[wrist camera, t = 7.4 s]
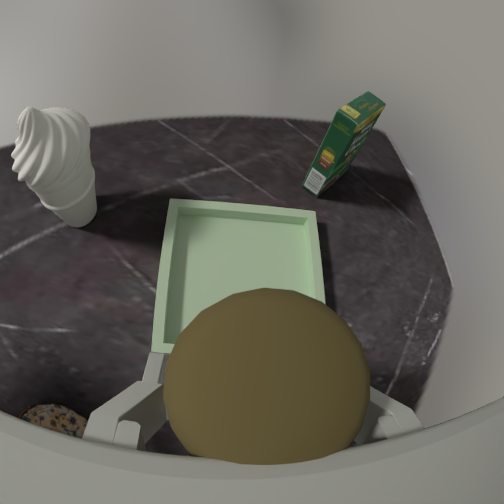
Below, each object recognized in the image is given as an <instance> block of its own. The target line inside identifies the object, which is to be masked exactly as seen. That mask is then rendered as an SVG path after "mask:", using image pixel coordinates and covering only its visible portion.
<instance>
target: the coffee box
mask: <svg viewBox="0 0 504 504" xmlns="http://www.w3.org/2000/svg"><path fill="white" fill-rule="evenodd" d="M384 107H385V103H384V102H383V101H381V100H380V99H379V98H377V97H376V96H375V95H373V94H372V93H370V92H366V93H364V94H363V95H361V96H359V97H358V98H356V99H354V100H353V101H351V102H350V103H348V104H346V105H345V106H343V107H341V108H340V109H338V110H337V112H336V114H335V116H334V119H333V120H332V123H331V125H330V127H329V129H328V131H327V133H326V135H325V137H324V139H323V142H322V144H321V146H320V148H319V150H318V152H317V154H316V156H315V158H314V160H313V162H312V164H311V166H310V169H309V171H308V173H307V175H306V177H305V179H304V182H303V184H302V187H304V188H305V189H306V190H307V191H309V192H310V193H311V194H313V195H314V196H315V197H316V198H318V197H319V196H320V195H321V194H322V193H323V192H324V191H325V190H327V189H328V188H329V187H330V186H331V185H332V184H333V183H334V182H335V181H337V180H338V179H339V178H340V177H341V176H342V175H343V174H344V173H345V172H346V171H347V170H348V168H349V166H350V164H351V163H352V161H353V159H354V158H355V156H356V154H357V153H358V151H359V149H360V148H361V146H362V144H363V143H364V141H365V139H366V138H367V136H368V134H369V133H370V131H371V129H372V127H373V126H374V124H375V122H376V121H377V119H378V117H379V116H380V114H381V112H382V111H383V109H384Z"/></svg>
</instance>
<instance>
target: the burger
mask: <svg viewBox="0 0 504 504" xmlns="http://www.w3.org/2000/svg"><path fill="white" fill-rule="evenodd" d="M18 418H19V419H22V420H24V421H27V422H30V423H32V424H35V425H38V426H41V427H44V428H47V429H50V430H53V431H56V432H60V433H63V434H66V435H70V436H74V437H77V438H81V439H82V437H83V434H84V431H85V428H86V426H87V423H88V419H87V418H85V417H84V416H83V415H81V414H80V413H78V412H76V411H74V410H72V409H70V408H68V407H66V406H64V405H62V404H58V403H55V404H36V405H34V406H31V407H29V406H28V407H27V408H25V409H24V410H23V411H22V412H21V414H20V415H19V416H18Z"/></svg>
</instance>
